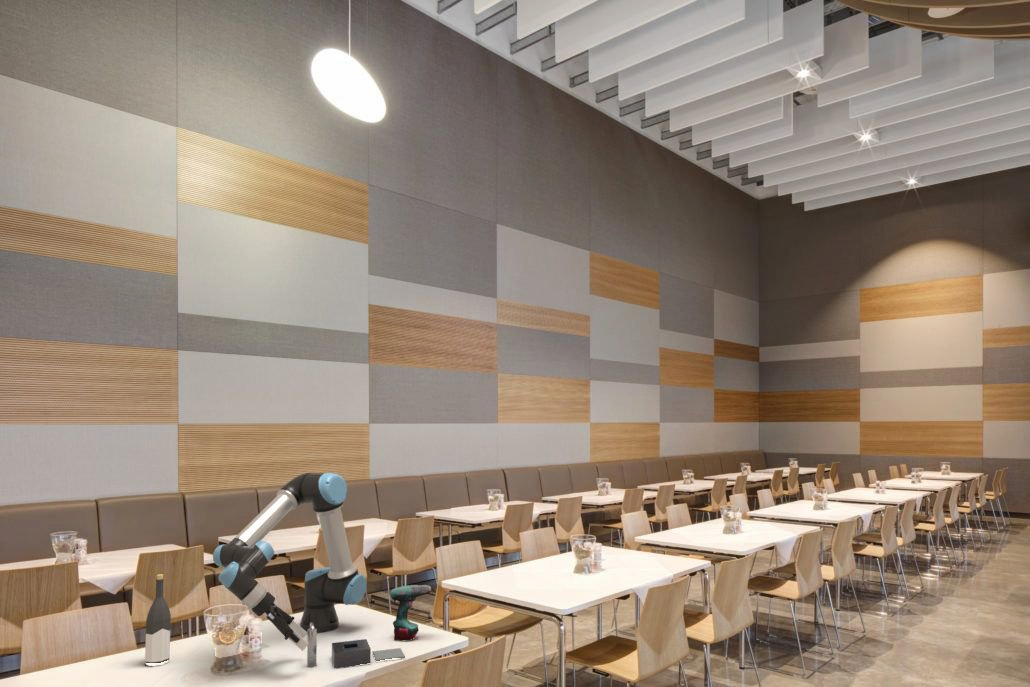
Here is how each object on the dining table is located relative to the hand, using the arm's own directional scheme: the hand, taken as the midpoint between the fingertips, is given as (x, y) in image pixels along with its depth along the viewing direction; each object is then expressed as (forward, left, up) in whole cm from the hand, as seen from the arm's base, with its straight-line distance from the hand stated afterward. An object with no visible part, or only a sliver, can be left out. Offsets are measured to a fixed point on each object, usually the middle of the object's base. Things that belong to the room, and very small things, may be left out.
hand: (305, 641), depth 242 cm
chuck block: (-1, +15, -8) cm, 17 cm away
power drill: (-18, +39, -9) cm, 44 cm away
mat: (-1, +28, -8) cm, 30 cm away
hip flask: (-1, +2, -8) cm, 9 cm away
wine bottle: (-25, -49, -9) cm, 55 cm away
